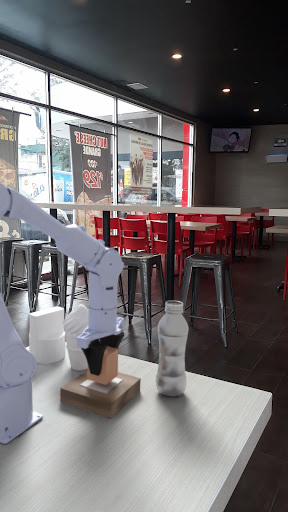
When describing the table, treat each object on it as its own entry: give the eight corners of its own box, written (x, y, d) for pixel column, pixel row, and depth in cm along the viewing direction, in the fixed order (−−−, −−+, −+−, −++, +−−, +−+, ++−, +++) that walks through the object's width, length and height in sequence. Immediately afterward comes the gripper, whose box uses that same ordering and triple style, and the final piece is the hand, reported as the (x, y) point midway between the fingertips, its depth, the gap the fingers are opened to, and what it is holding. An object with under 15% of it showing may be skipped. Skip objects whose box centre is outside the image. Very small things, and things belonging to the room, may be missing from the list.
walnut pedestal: (110, 418, 75) (111, 403, 75) (60, 401, 81) (60, 387, 80) (140, 391, 86) (140, 377, 85) (93, 377, 91) (93, 364, 91)
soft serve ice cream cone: (59, 362, 99) (58, 300, 96) (91, 357, 102) (92, 297, 99) (67, 377, 91) (67, 310, 88) (102, 371, 95) (103, 306, 92)
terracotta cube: (105, 384, 80) (106, 356, 79) (87, 379, 82) (87, 351, 81) (117, 375, 84) (118, 348, 82) (99, 370, 86) (100, 344, 84)
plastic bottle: (175, 404, 81) (180, 309, 78) (148, 393, 85) (152, 303, 82) (191, 392, 86) (196, 302, 83) (165, 382, 90) (169, 296, 87)
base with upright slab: (50, 346, 109) (50, 303, 107) (72, 355, 103) (72, 311, 101) (22, 356, 102) (21, 311, 100) (43, 366, 96) (43, 319, 94)
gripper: (99, 319, 72) (98, 389, 74) (137, 300, 85) (135, 360, 87) (68, 312, 75) (68, 380, 77) (109, 295, 88) (108, 353, 90)
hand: (101, 369), depth 82 cm, fingers closed on terracotta cube, 4 cm apart
